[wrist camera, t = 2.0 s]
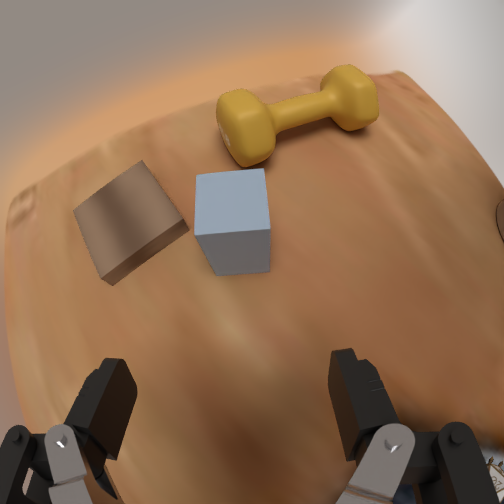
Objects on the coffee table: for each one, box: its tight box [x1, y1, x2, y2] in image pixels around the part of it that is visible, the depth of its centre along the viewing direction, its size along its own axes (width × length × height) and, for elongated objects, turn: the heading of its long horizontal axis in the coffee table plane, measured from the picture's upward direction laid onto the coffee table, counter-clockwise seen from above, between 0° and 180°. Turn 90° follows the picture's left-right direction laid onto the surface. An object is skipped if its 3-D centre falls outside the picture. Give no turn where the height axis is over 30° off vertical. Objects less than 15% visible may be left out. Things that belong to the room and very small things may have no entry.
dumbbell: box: [216, 64, 379, 167], centre depth 30 cm, size 19×9×8 cm, turn 115°
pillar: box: [194, 168, 270, 276], centre depth 24 cm, size 5×5×9 cm
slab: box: [73, 160, 189, 286], centre depth 29 cm, size 10×10×3 cm
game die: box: [486, 456, 504, 503], centre depth 13 cm, size 9×8×10 cm
